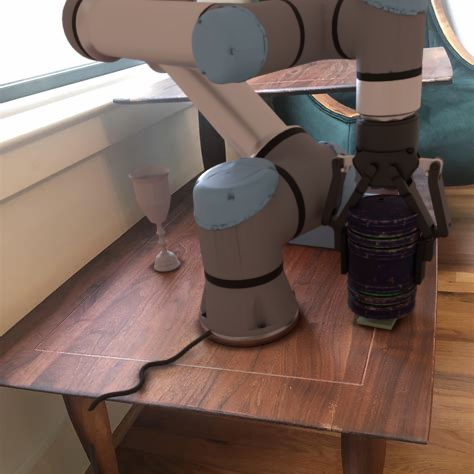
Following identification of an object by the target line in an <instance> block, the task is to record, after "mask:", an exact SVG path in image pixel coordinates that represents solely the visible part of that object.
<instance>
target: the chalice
mask: <svg viewBox="0 0 474 474" xmlns="http://www.w3.org/2000/svg"><path fill="white" fill-rule="evenodd" d="M169 173H170V169H169V168H168V167H166V166H158V165H157V166H146V167H141V168H137V169H136V170H132V171H131V172H129V174H128V177H129V178H130V180H131V181H132V184H133V189H134V195H135V198H136V203H137V204H138V206H139V208H140V210H141V211H142V213H143V214H144V215H145V216H146V218H147V219H148V221H149V222H150V223H151V224H155V225H156V233H155V234H156V235H157V236H158V241H157V244H159V246H160V248H161V250H160V251H159V253H158V254H156V256H155V260H154V266H153V268H154V270H155V271H157V272H170V271H173V270H176V269H177V268H179V267H180V266H181V261H180V260H179V259H178V257H177V256H176V254H175V253H174V252H173V251H171V250H168V248H167V243H168V240H167V239H166V237H165V233H166V231H165V230H164V228H163V223H164V222H166V221H167V218H168V215H169V211H170V207H171V202H172V201H171V200H172V194H171V187H170V182H169Z"/></svg>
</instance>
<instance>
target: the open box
mask: <svg viewBox="0 0 474 474" xmlns="http://www.w3.org/2000/svg"><path fill="white" fill-rule="evenodd" d="M378 194H379V193H368V192H365V194H364V195H363V197H366V196H371V195H378ZM338 217H339V216H338ZM347 224H348V222H347V223H346V226H347ZM288 243H289V244H293V245H300V246H308V247H317V248H324V249H325V248H326V249H334V250H335V248H334V230H333V228H331V227H329V226H323V225H322V226H320V227H317V228H315V229H313V230H311V231H309V232H307V233H305V234H303V235H301V236H299V237H297V238H295V239H293V240H291V241H289V242H288Z"/></svg>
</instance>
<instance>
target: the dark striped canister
mask: <svg viewBox="0 0 474 474" xmlns="http://www.w3.org/2000/svg"><path fill="white" fill-rule="evenodd" d="M377 194H378V195H371V196H366V197H362V199H361V200H360V202H359V203H358V204H357V205H356V207H355V208H354V209H349V208H348V216H349V217H348V224H347V235H348V238H347V243H348V248H349V268H348V272H347V279H346V291H347V307H348V308H349V310H350V311H351V312H352V313H353V314H355V315H356V316H359V317H363V318H366V319H371V320H380V321H385V320H394V319H396V320H399V319H401V318H404V317H406V316H408V315H410V314H411V313H412V312H413V311H414V309H415V307H416V297H417V291H418V285H415V273H416V259H417V245H418V240H419V238H420V236H421V235H422V233H421V231H420V229H419V227H418V225H417V223H416V219H418V213H417V214H411V212H410V210H409V208H408V206H407V204H406V202H405V201H404V199H403V197H401V196H400V194H393V193H377Z"/></svg>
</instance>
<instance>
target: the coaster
mask: <svg viewBox="0 0 474 474" xmlns="http://www.w3.org/2000/svg"><path fill="white" fill-rule="evenodd" d="M396 321H397V319H394V320H385V321H380V320H371V319H366V318H363V317H360V316H359V317H358V318H357V320H356V324H357V325H363V326H369V327H374V328H379V329H384V330H389V331H391V330H392V329H393V327H394V325H395V323H396Z"/></svg>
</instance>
